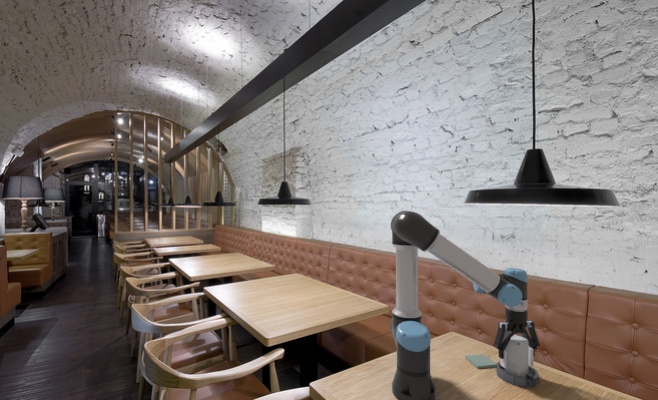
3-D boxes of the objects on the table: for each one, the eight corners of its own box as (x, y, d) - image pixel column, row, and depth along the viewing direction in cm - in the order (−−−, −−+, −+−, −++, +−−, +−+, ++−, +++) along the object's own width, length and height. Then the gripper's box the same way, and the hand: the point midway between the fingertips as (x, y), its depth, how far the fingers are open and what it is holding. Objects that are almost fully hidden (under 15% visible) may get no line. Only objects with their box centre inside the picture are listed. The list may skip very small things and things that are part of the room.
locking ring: (514, 389, 116) (514, 378, 116) (487, 368, 131) (487, 358, 131) (549, 386, 118) (549, 375, 118) (518, 365, 133) (518, 355, 133)
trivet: (477, 368, 131) (477, 366, 131) (465, 358, 140) (465, 355, 140) (497, 366, 132) (497, 364, 132) (484, 356, 141) (484, 354, 141)
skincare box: (513, 370, 129) (512, 333, 130) (529, 376, 125) (529, 338, 125) (504, 377, 124) (503, 339, 124) (521, 384, 119) (520, 344, 120)
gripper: (495, 313, 119) (495, 372, 119) (550, 310, 123) (551, 368, 122) (482, 307, 127) (483, 362, 127) (535, 304, 130) (536, 358, 130)
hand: (516, 365), depth 124 cm, fingers open, 11 cm apart
